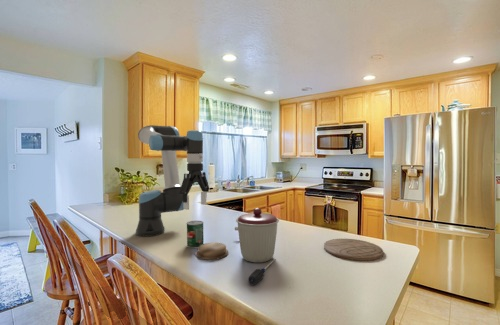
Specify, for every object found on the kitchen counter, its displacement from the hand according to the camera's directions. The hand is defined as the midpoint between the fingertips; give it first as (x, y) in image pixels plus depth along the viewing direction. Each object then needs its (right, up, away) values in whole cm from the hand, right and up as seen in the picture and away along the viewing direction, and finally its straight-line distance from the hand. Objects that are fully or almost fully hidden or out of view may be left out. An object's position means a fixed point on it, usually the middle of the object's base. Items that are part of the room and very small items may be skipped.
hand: (195, 206), depth 128 cm
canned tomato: (0, -19, 0) cm, 19 cm away
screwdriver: (+32, -20, -29) cm, 48 cm away
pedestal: (+10, -19, -11) cm, 24 cm away
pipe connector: (+23, -18, +10) cm, 31 cm away
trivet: (+73, -19, -8) cm, 76 cm away
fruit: (+35, -18, +29) cm, 49 cm away
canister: (+30, -19, -16) cm, 39 cm away
